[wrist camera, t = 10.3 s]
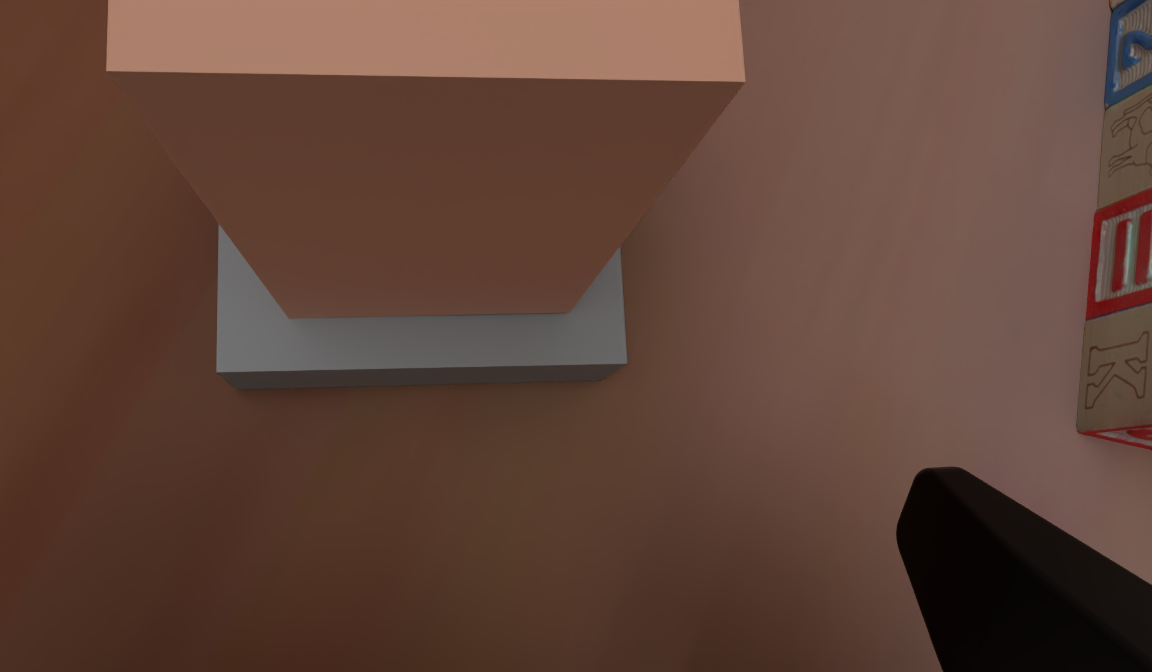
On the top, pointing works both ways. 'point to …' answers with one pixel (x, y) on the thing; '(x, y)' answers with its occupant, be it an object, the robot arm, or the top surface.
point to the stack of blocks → (1122, 245)
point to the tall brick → (427, 136)
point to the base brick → (411, 340)
